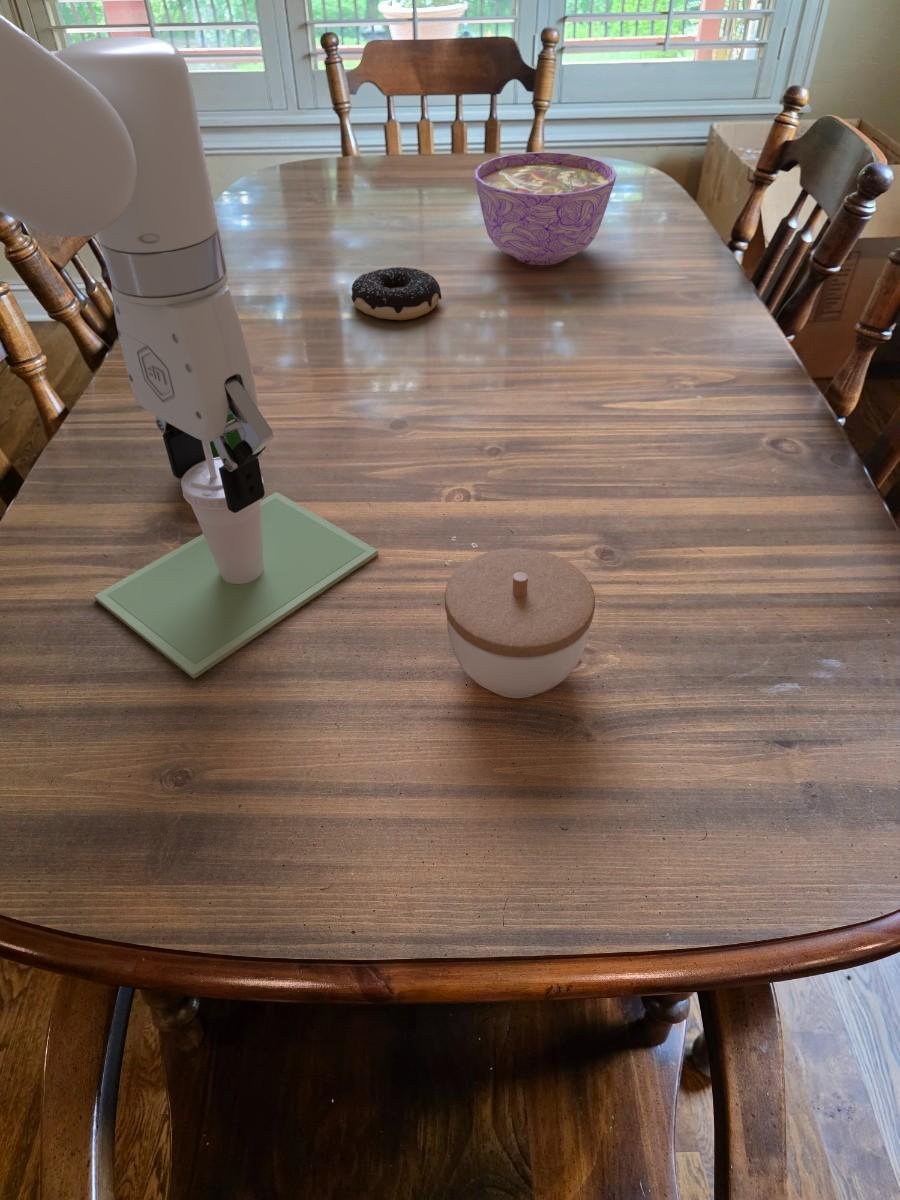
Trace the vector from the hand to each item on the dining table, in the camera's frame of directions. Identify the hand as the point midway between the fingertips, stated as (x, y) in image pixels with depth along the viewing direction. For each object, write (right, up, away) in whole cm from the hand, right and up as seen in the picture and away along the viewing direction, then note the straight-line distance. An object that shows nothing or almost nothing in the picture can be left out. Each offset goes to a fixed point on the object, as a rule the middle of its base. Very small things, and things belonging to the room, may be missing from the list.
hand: (218, 485), depth 69 cm
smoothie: (0, -7, +6) cm, 9 cm away
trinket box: (+24, -15, -2) cm, 28 cm away
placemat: (0, -7, +7) cm, 10 cm away
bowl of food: (+32, +42, +61) cm, 81 cm away
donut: (+11, +30, +48) cm, 58 cm away
